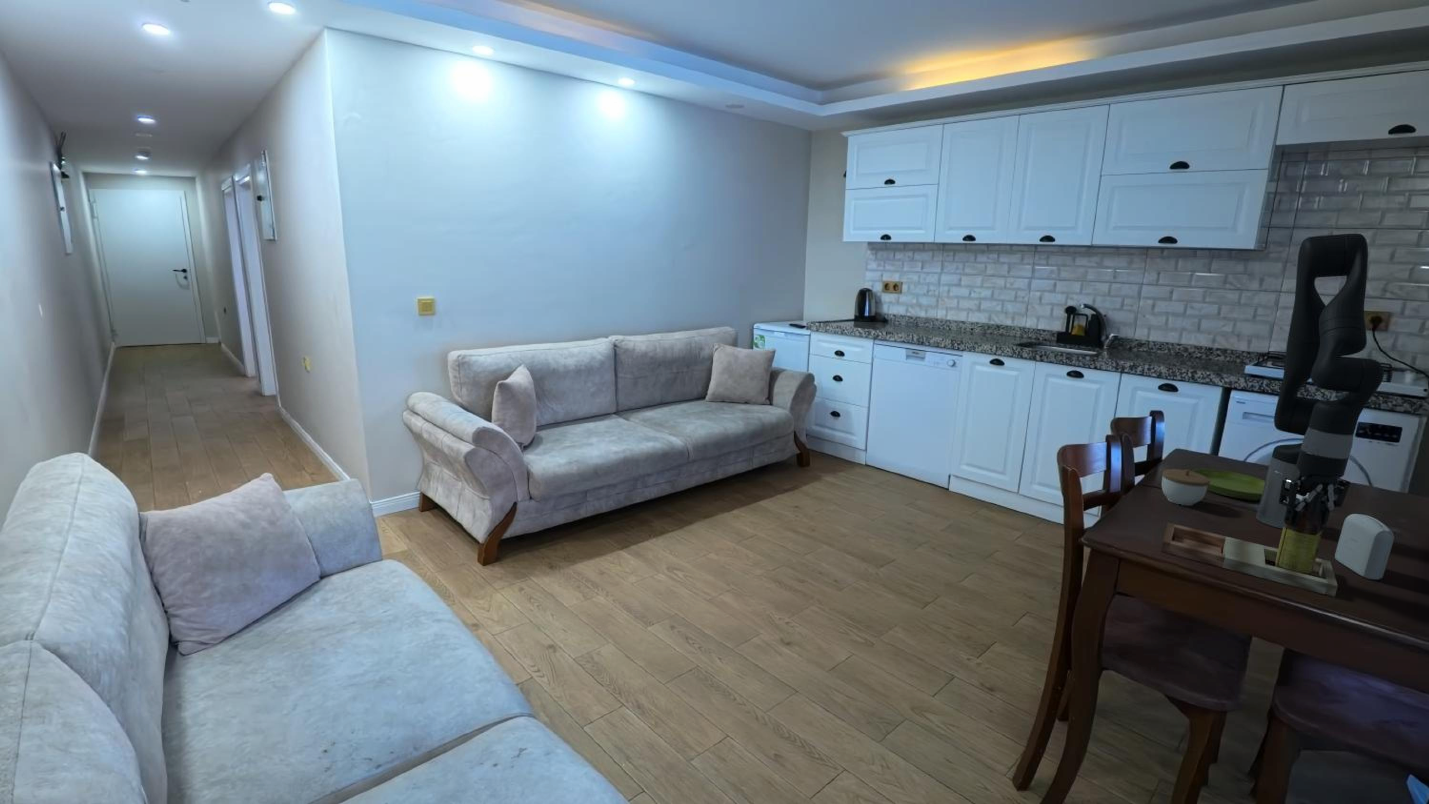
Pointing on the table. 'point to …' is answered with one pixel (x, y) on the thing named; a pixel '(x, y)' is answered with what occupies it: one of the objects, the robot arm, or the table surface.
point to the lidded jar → (1184, 486)
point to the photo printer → (1364, 545)
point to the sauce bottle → (1302, 539)
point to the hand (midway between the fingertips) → (1304, 524)
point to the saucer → (1233, 484)
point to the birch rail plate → (1244, 558)
